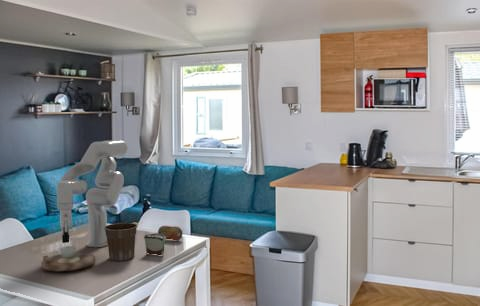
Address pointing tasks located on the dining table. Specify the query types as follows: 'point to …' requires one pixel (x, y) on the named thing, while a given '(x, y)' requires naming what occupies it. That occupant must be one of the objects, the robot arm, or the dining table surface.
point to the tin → (171, 232)
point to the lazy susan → (67, 262)
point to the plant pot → (121, 240)
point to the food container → (155, 243)
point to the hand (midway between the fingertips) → (65, 242)
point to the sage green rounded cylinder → (68, 252)
